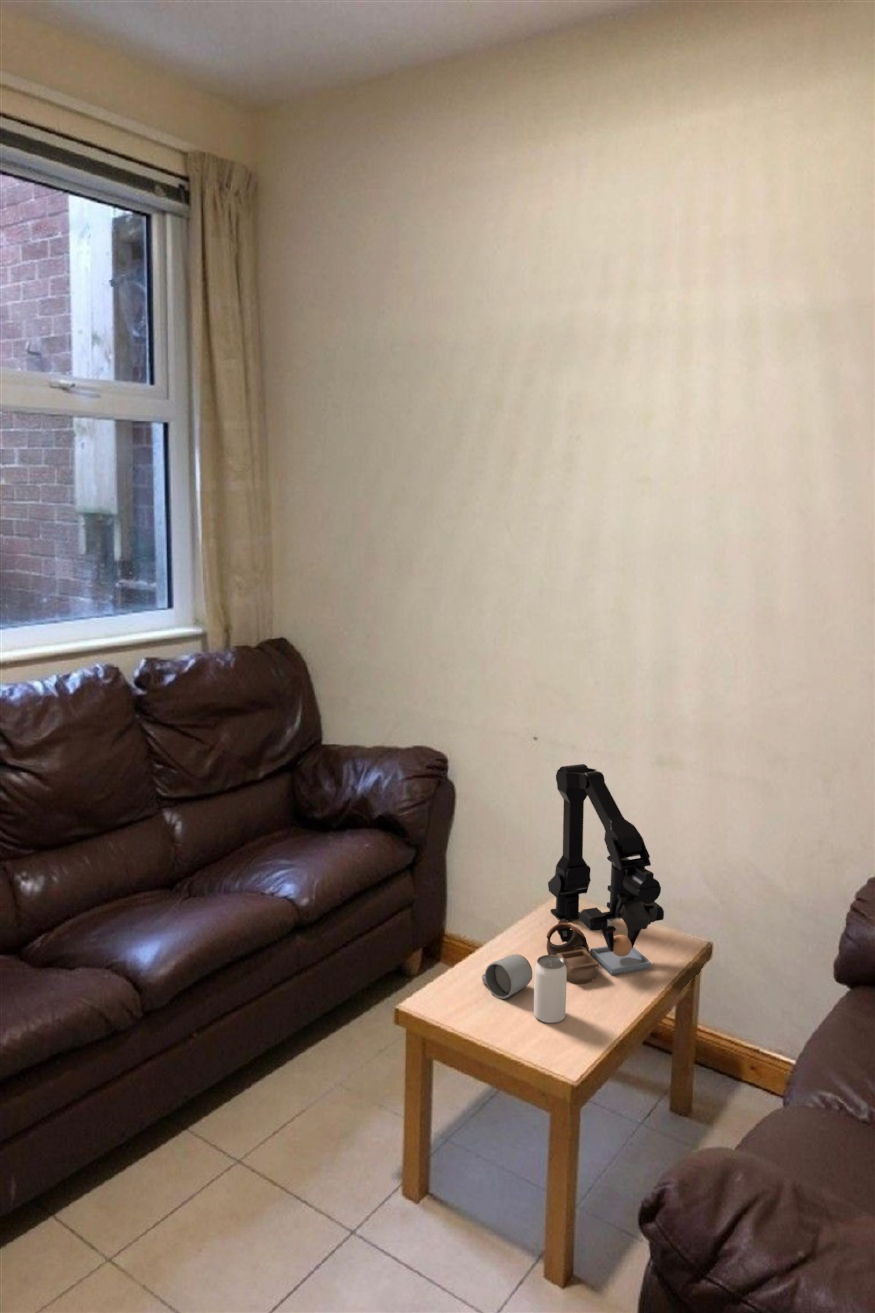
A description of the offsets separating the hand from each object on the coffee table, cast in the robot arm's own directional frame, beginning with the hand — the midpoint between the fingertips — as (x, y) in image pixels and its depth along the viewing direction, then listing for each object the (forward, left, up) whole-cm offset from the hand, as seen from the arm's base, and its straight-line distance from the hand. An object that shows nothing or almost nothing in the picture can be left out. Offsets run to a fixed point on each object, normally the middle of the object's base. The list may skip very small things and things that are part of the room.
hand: (620, 949), depth 213 cm
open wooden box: (+2, -12, -3) cm, 13 cm away
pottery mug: (-8, -9, -3) cm, 13 cm away
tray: (0, 0, -3) cm, 3 cm away
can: (+15, -25, -3) cm, 29 cm away
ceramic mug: (+2, -30, -3) cm, 30 cm away
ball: (0, 0, +1) cm, 1 cm away
